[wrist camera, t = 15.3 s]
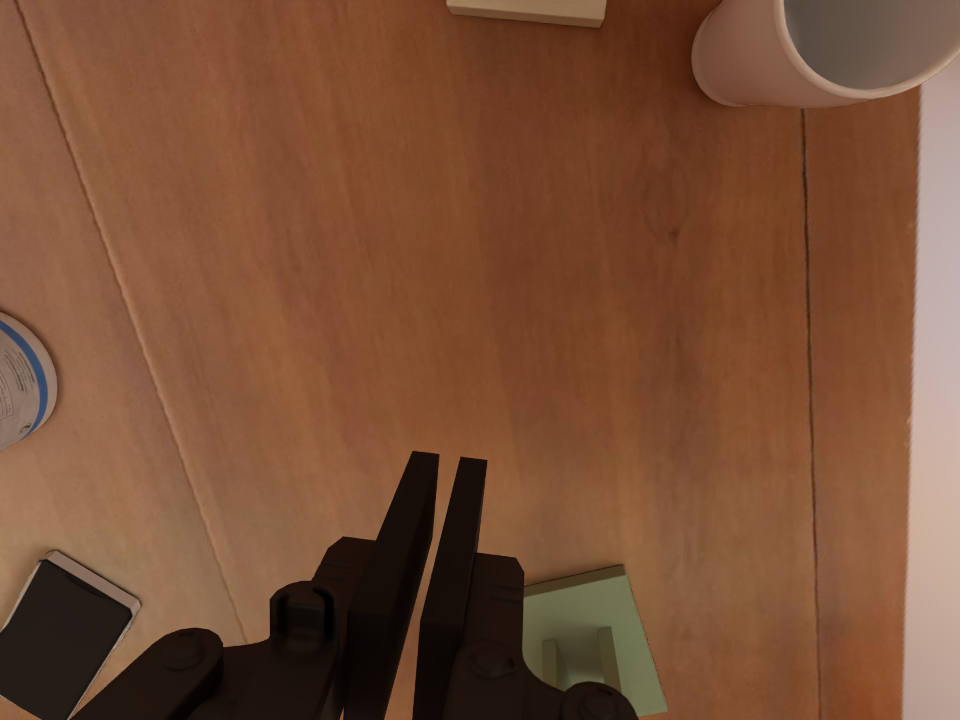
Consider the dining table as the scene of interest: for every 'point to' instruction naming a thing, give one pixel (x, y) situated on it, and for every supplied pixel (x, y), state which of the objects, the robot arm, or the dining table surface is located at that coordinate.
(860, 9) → the drinking glass
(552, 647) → the bracket
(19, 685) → the smartphone
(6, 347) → the supplement tub
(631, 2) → the dining table surface
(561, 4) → the button box
